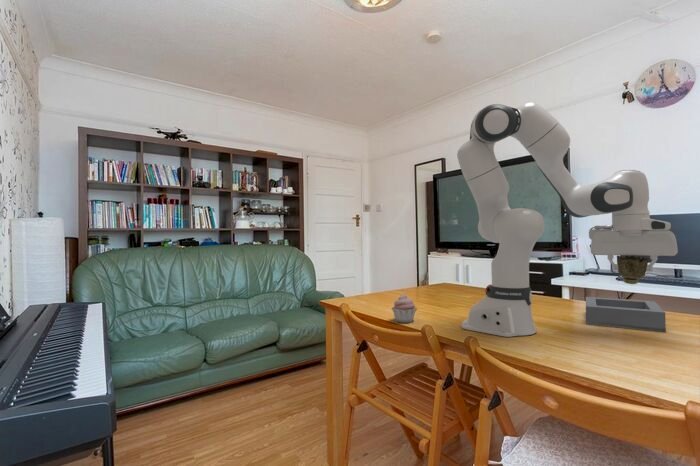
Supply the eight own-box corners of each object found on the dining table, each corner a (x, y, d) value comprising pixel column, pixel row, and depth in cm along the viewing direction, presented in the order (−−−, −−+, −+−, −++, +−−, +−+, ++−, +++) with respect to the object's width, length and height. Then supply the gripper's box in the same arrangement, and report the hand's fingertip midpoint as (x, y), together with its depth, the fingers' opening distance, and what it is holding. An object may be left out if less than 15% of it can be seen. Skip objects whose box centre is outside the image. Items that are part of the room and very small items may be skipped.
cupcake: (409, 325, 120) (408, 297, 120) (386, 322, 126) (386, 294, 126) (422, 320, 127) (421, 293, 127) (400, 317, 134) (400, 291, 134)
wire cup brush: (634, 280, 108) (636, 254, 107) (653, 286, 101) (655, 259, 100) (609, 279, 109) (611, 254, 108) (625, 286, 101) (627, 259, 101)
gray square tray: (586, 324, 117) (585, 306, 117) (586, 312, 133) (585, 296, 133) (665, 332, 105) (665, 312, 105) (655, 318, 122) (654, 301, 122)
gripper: (588, 225, 108) (589, 270, 107) (678, 223, 96) (679, 273, 96) (588, 225, 113) (589, 268, 113) (673, 223, 101) (675, 270, 101)
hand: (631, 270), depth 104 cm, fingers closed on wire cup brush, 6 cm apart
